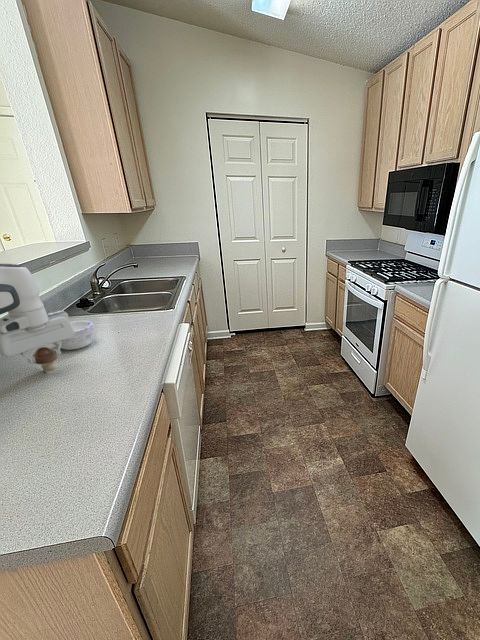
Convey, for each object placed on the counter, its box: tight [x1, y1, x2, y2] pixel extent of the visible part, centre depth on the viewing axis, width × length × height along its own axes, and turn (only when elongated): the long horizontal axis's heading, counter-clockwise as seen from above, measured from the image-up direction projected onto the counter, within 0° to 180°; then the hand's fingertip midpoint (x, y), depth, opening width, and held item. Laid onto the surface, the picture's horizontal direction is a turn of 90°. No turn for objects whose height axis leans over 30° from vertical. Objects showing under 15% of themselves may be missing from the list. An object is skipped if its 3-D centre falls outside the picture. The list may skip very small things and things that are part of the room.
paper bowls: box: [51, 320, 97, 351], centre depth 130 cm, size 15×15×8 cm
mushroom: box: [32, 346, 58, 373], centre depth 107 cm, size 6×6×8 cm
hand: (45, 358), depth 107 cm, fingers closed on mushroom, 6 cm apart
